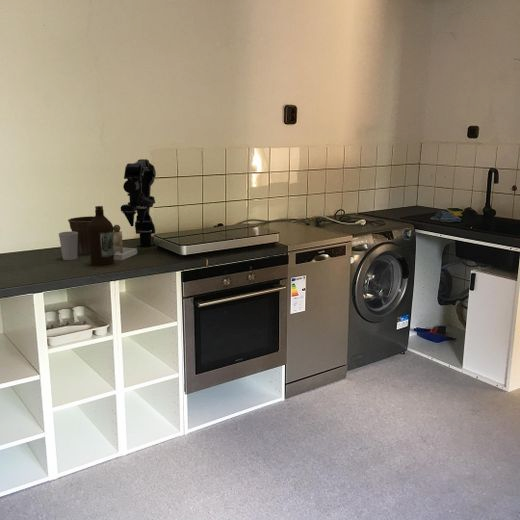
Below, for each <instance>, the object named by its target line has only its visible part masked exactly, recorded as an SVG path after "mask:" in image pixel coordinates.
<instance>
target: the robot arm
mask: <svg viewBox="0 0 520 520" xmlns="http://www.w3.org/2000/svg"><path fill="white" fill-rule="evenodd" d="M156 175H157V171H156V169H155V166H154V165H153V164H152V163H151V162H150V160H149V159H146V158H145V159H138V160H137V161H136V162H135V163H133V162H132V163H131V162H130V163H127V164H126V166H125V168H124V176H123V179H125V180H126V181H125V182H124V183H123V185H122V186H123V190H124V191H125V192H126V194H127V197H129V198H128V199H129V200H128V201H129V202H127V203H125V204H123V205H121V206H120V212H122V214H124V216H125V218H126V220H127V222H128V223H129V225H130V227H134V229H135V234H136V235H138V234H139V244H137V245H136V246H137V247H145V246H150V247H151V245H152V246H154V245H153V243H154V242H153V239H152V235H154V234H156V227H155V224H154V221H153V218H152V217H151V214H150V211H151V210H150V208H153V207H154V204H156V199H155V196H151V190H152V189H151V186H152V185H153V184H154V183H155V178H156ZM135 215H136V219H135ZM152 242H153V243H152Z"/></svg>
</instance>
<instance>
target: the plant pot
mask: <svg viewBox="0 0 520 520" xmlns="http://www.w3.org/2000/svg"><path fill="white" fill-rule="evenodd" d="M94 217H95V215H93V216H91V215H89V216H88V215H87V216H79V217H78V216H77V217H72V218H69V219H67V221H68V222H69V228H70V230H71V231H72V232H78V244H77V255H90V248H89V239H88V231H87V229H88V225H89V223H90V222H91V220H92V219H93V218H94Z"/></svg>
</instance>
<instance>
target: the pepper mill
mask: <svg viewBox="0 0 520 520" xmlns="http://www.w3.org/2000/svg"><path fill="white" fill-rule="evenodd" d="M113 229H114V254H115V253H116V252H121V253H122V254H123V248H124V246H123V231H121V226H120V225H119V224H114V225H113Z"/></svg>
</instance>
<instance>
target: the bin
mask: <svg viewBox="0 0 520 520" xmlns="http://www.w3.org/2000/svg"><path fill="white" fill-rule="evenodd" d="M137 254H138V248H134V247H123V254H114V261H124V260H127V259H128V258H131V257H134V256H135V255H137Z"/></svg>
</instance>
